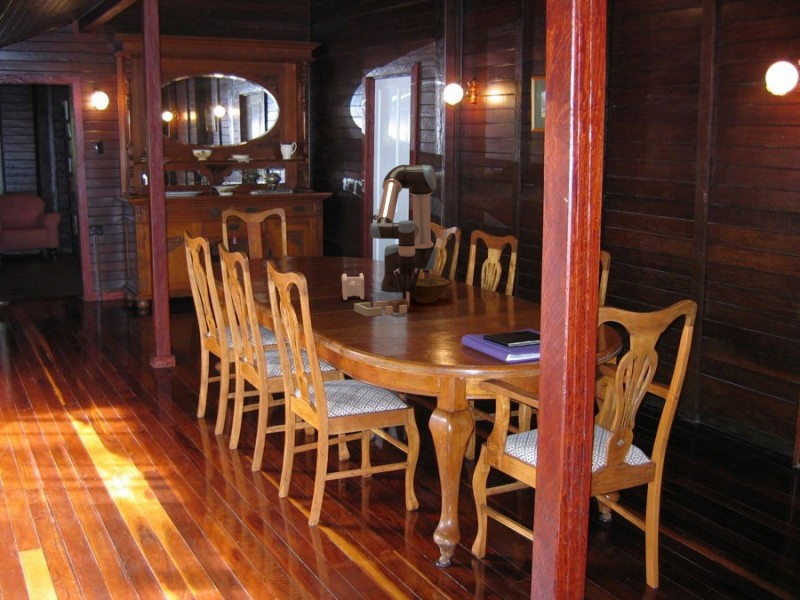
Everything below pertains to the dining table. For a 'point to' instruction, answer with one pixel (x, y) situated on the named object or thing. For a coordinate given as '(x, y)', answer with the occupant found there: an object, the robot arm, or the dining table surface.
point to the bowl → (429, 289)
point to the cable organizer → (353, 286)
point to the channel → (389, 307)
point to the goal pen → (367, 309)
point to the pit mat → (400, 315)
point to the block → (397, 304)
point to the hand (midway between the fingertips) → (406, 306)
